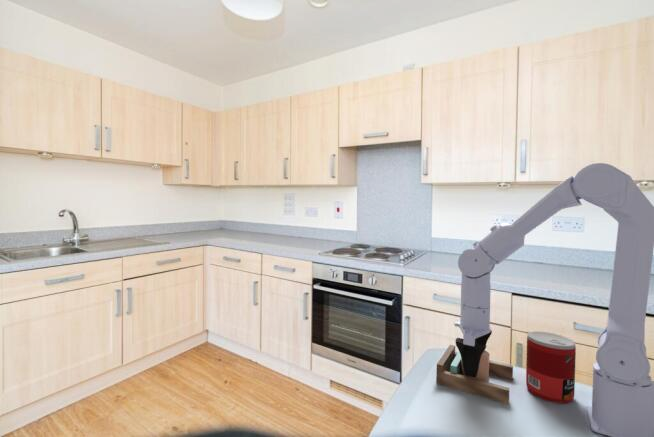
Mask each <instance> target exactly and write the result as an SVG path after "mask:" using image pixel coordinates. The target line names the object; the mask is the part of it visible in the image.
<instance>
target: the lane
mask: <svg viewBox="0 0 654 437" xmlns="http://www.w3.org/2000/svg"><path fill="white" fill-rule="evenodd" d="M457 353H458V351H457V352H456V345H454V344H449V346H448V347H447V349H446V350H445V352H444V353H443V354H442V356H441V357H440V358H439V359H438V361H437V363H436V377H435V378H436V382H435V383H436V384H438V385H440V386H441V385H442V386H445V387H449V388H453V389H456V390H458V391H462V392H466V393H469V394H472V395H477V396H480V397H482V398H487V399H489V400H493V401H497V402H500V403H504V404H507V405H509V403H510V387H507V386H503V385H500V384H496V383H493V382H485V381H481V380H478V379H474V378H470V377H466V376H463V375H459V374H455V373H452V372H450V368H451V364H452V362H453V360H454V358H455V357H456V355H457ZM489 375H495V376H497V377H502V378H506V379H510V380H513V378H514V365H512V364H508V363H503V362H499V361H495V360H490V359H489Z"/></svg>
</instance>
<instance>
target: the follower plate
mask: <svg viewBox="0 0 654 437" xmlns="http://www.w3.org/2000/svg"><path fill="white" fill-rule="evenodd" d="M450 372H452V373H455V374H459V375H461V355H460V352H459V351H457V355H456V357H455V358H454V360H453V362H452V364H451V368H450Z"/></svg>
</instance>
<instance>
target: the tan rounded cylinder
mask: <svg viewBox="0 0 654 437" xmlns="http://www.w3.org/2000/svg"><path fill="white" fill-rule="evenodd" d="M489 360H490V353H489V351H487V350H486V349H485V350H484V352H483V353H482V355H481V359H480V363H479V368H478V373H477V376H476V377H472V376H468V375H465V372H464V368H463V363H462V358H461V375H463V376H466V377H470V378H474V379H478V380H481V381H485V382H489V381H490V373H489ZM489 383H490V382H489Z"/></svg>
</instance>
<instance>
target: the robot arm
mask: <svg viewBox="0 0 654 437" xmlns="http://www.w3.org/2000/svg"><path fill="white" fill-rule="evenodd" d="M580 200H584V201H585V202H587V203H590V204H591V205H594V206H596V207H598V208H601V209H603V211H604V212H605V213H606V214H608V215H609V216H611V217H612V218H613V219H614V220H615V221H617V224H618V225H617V234H616V242H615V249H614V250H615V252H614V260H613V269H612V280H611V285H610V286H611V287H610V296H609V302H608V303H609V305H608V313H607V322H606V325H605V326H606V327H605V329H604V330H603V331H601V333H600V334H599V335H598V339H597V346H598V347H597V350H596V353H595V358H596V359H595V361H596V362H594V363H593V365H592V396H591V398H592V399H591V400H592V401H591V406H590V405H587V406H585V407H586V408H585V409H586V412H587V416H588V420H589V424H590V427H591V431H593V432H595V433H597V434H602V435H604V436H608V437H654V380H652V377H651V375H650V372H651V363H650V361H649V357H648V356H647V348H646V345H645V337H646V336H645V326H646V325H645V323H646V314H647V306H648V299H649V298H648V297H649V289H650V280H651V275H652V274H651V273H652V265H653V256H654V205H653V204H652V203H651V201H650V200H649V199H648V198H647V196H646V195H645V194H644V193H643V191H642V190H641V189H640V188H639V186H638V185H637V184H636V182H635V181H634V180H633V178H632V176H631V175H629V174H627V173H626V172H625V171H623V170H622V169H619V168H618V167H616V166H614V165H611V164H609V163H604V162H603V163H602V162H598V163H592V164H591V163H590V164H587V165H586V166H584V167H582V168H581V169H579V171H578V172H577V173H576V174H575V175H574V176H572V175H571V176H569V177H568V178H566V179H565V180H563V181H562V182H560V183H559V184H557V185H556V186H555V187H553V188H552V189H551V190H550V191H549V192H548V193H546V194H545V195H544V196H542V198H540V200H538V201H537V202H536V203H535V204H533V205H532V206H531V207H530V208H529V209H527V210H526V211H525V212H524V213H523V214H522V215H520V216H519V217H518V218H517V219H515V221H514V222H513V223H501V224H499V225H493V226H492V227H490V229H489V230H490V232H489V233H488V234H487V235H486V236H485V237H484V238H482V239H481V240H480V241H475V242H474V243H472V246H473V248H469V249H465V250H463V252H462V253H461V254H460V256H458V260H457V264H458V265H457V266H458V269H459V270H460V272H461V284H460V288H461V289H460V317H459V318H460V321H459V320H456V321H455V322H454V326H455V327H457V328H459V330H460V331H461V333H462V335H463V336H462V337H463V338H460V337H457V338H456V339H455V347H457V349H458V352H460V355H461V358H462V363H463V368H464V372H465V375H468V376H472V377H476V376H477V373H478V368H479V363H480V359H481V355H482V353H483V352H484V350H485V351H486V349H487V342H488V340H489V339H490V337H491V335H492V334H493V332H492V331H493V330H492V329H491V326H490V325H491V324H490V322H491V287H492V286H491V272H493V270H494V268H495V266H496V265H499V264H500V263H502V262H503V261H505V260H506V259H507V258H508V257H510V256H511V255H513V254H514V253H516V252H517V251H518V250H519V249H521V248H522V247H524V245H525V237H526V235H527V234H529V233H530V232H532V231H533V230H535V229H536V228H538V227H540V225H542V224H543V223H545V222H546V221H547V220H549V219H550V218H551V217H553V216H554V215H556V214H557V213H558V212H560V211H562V210H565V209H569V208H573V207H579V206H582V205H583V204H582V202H581V201H580Z"/></svg>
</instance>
